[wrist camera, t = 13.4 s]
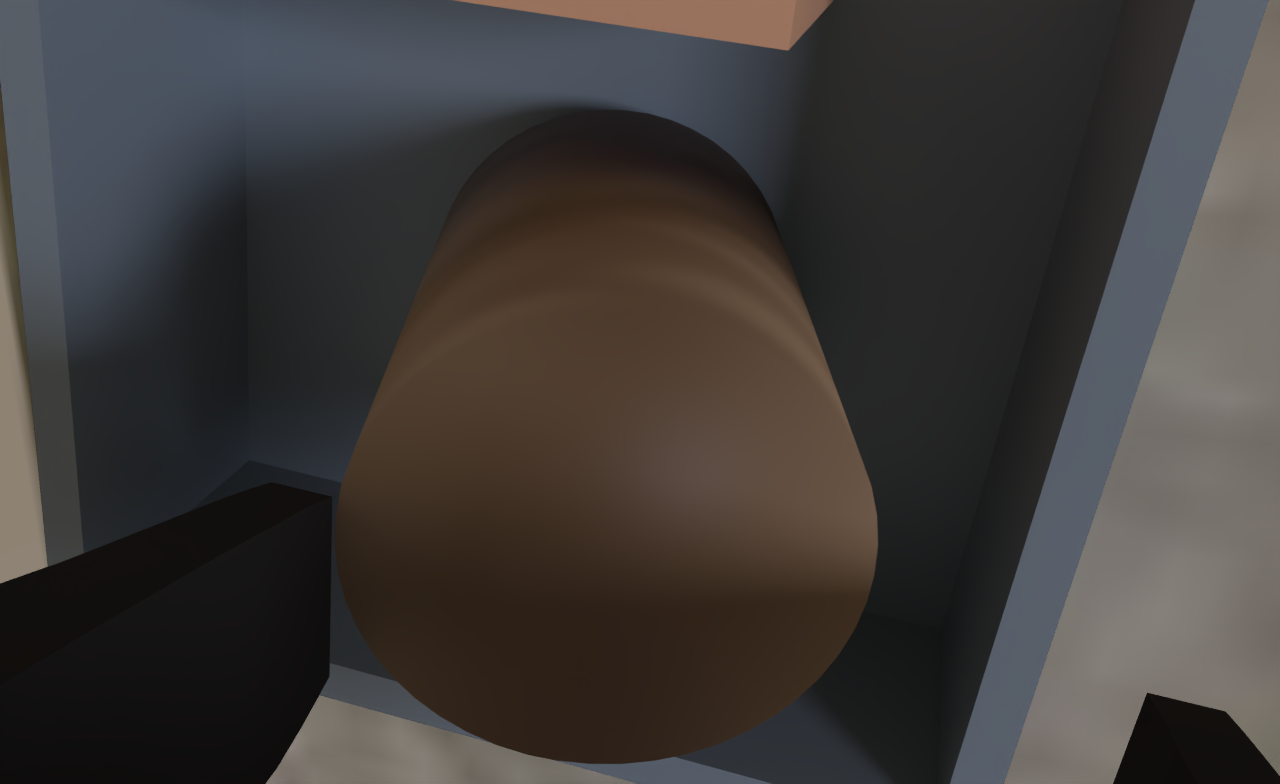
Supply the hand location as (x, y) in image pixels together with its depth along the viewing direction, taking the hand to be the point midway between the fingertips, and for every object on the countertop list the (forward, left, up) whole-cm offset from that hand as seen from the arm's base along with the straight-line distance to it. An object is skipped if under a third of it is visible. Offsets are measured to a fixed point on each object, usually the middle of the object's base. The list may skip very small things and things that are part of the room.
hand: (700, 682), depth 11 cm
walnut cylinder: (+1, +3, -8) cm, 8 cm away
